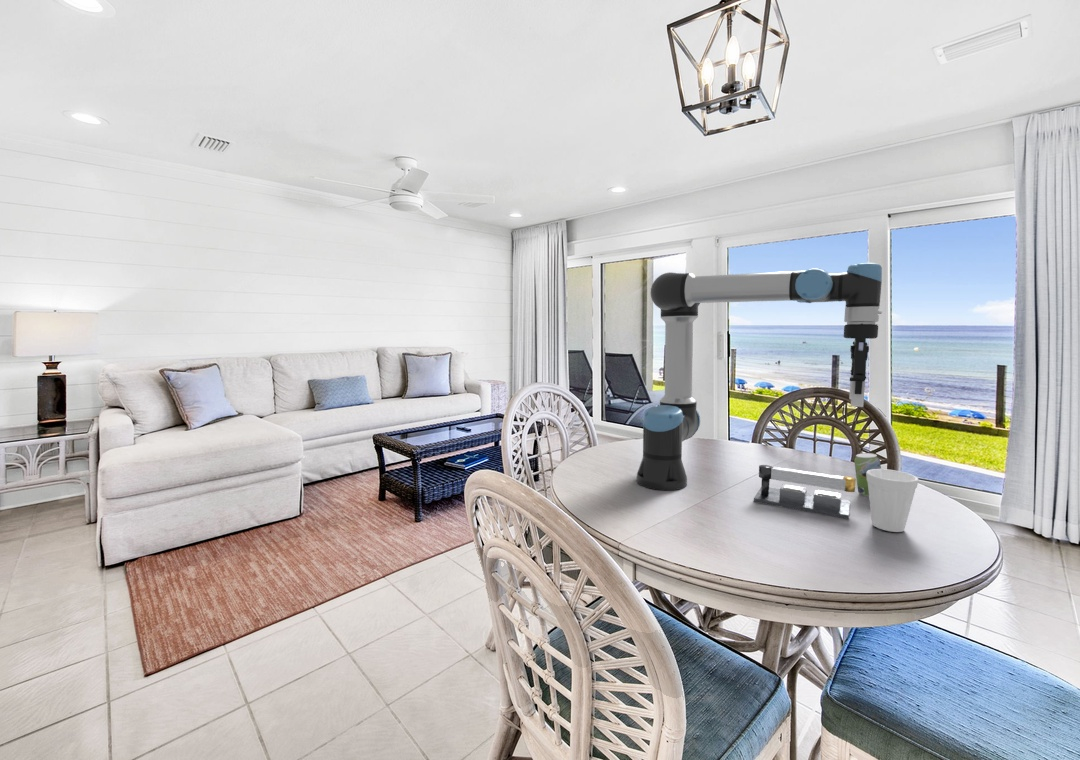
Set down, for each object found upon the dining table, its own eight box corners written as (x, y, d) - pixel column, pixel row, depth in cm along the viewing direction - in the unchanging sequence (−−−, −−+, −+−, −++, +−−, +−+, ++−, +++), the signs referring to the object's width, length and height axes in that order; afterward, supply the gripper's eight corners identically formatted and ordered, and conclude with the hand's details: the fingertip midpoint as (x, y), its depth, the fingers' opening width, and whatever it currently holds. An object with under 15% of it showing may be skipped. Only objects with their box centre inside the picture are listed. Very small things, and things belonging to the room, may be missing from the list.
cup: (917, 540, 106) (922, 484, 105) (863, 531, 112) (867, 477, 110) (911, 525, 115) (915, 472, 113) (861, 516, 120) (865, 466, 119)
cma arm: (757, 478, 133) (758, 466, 132) (759, 474, 136) (760, 463, 135) (854, 493, 120) (855, 481, 120) (854, 489, 123) (855, 477, 123)
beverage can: (887, 500, 131) (890, 457, 130) (858, 498, 133) (860, 456, 132) (876, 492, 138) (879, 452, 136) (848, 490, 139) (851, 450, 138)
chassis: (753, 501, 131) (754, 481, 130) (761, 489, 141) (762, 470, 140) (848, 519, 119) (850, 497, 118) (849, 504, 128) (851, 483, 128)
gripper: (882, 323, 113) (876, 411, 115) (875, 323, 134) (869, 397, 136) (845, 323, 117) (839, 408, 119) (843, 323, 138) (839, 396, 140)
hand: (855, 403), depth 128 cm, fingers open, 13 cm apart
